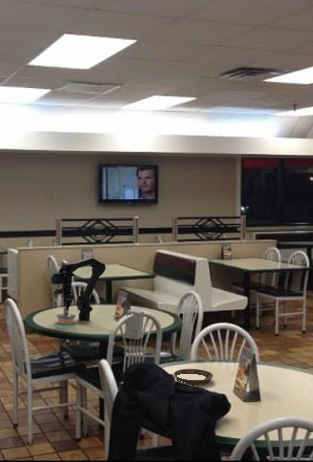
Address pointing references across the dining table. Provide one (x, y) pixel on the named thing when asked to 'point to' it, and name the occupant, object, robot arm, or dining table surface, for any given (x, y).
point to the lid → (66, 314)
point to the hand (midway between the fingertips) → (66, 308)
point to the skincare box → (134, 325)
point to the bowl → (65, 320)
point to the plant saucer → (194, 371)
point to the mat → (64, 326)
